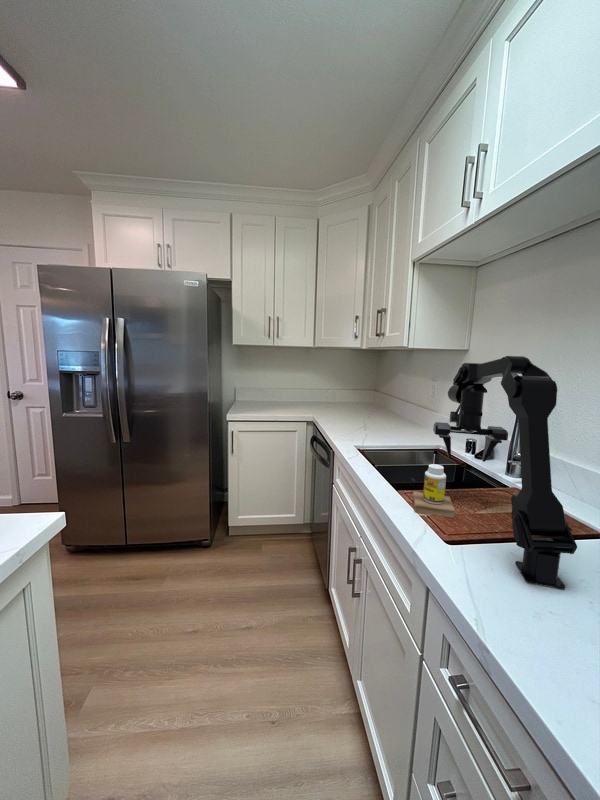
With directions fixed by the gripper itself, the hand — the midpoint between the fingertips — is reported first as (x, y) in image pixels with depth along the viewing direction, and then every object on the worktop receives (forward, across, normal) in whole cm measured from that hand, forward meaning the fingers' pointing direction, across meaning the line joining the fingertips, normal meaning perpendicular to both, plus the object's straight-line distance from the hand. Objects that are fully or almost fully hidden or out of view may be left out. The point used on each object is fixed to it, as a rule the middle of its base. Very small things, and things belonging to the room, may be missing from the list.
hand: (466, 459), depth 98 cm
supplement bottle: (+11, +9, +7) cm, 16 cm away
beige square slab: (+13, +9, +7) cm, 17 cm away
